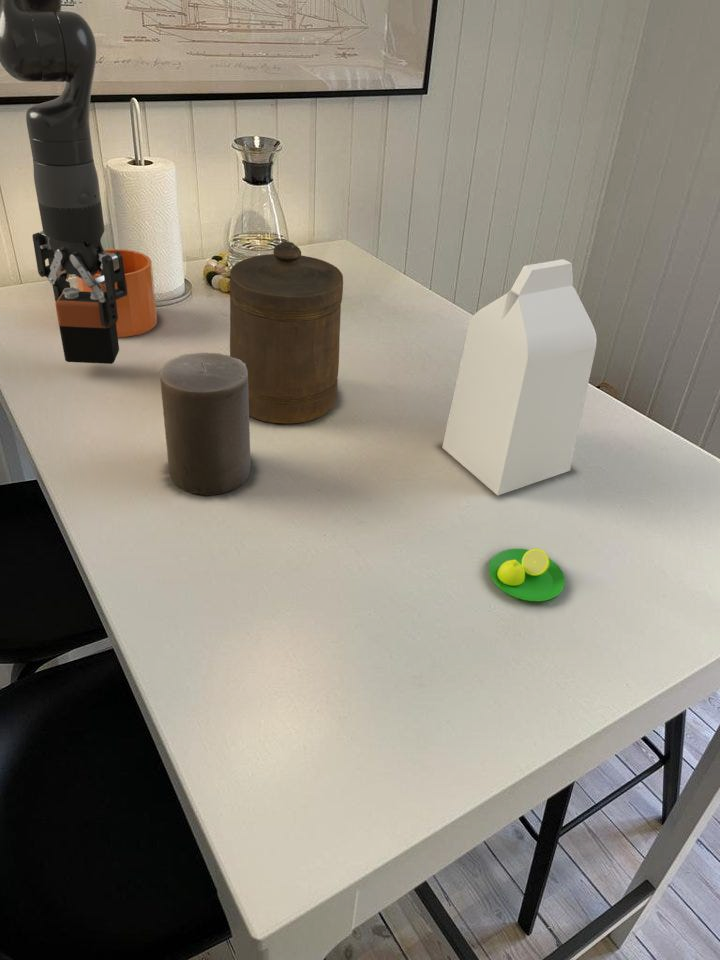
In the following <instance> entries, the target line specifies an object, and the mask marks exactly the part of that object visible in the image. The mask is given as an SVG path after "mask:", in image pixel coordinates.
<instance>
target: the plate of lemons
mask: <svg viewBox="0 0 720 960" xmlns="http://www.w3.org/2000/svg"><path fill="white" fill-rule="evenodd" d="M488 572H489V576H490V578H491V580H492V582H493V583H494V584H495V585H496V587H498V588H499V589H500V590H501V591H502V592H504V593H506V594H507V595H510V596H512V597H513V598H516V599H520V600H523V601H529V602H543V601H548V600H551V599H554V598H556V597H558V596H559V595H560V594H561V593H562V592H563V590H564V588H565V583H566V579H565V578H566V577H565V574H564V572H563V570H562V569H561V567H560V566H559V565H558V564H557V563H556V562H555V561H554V560H553V559H551V558H550V557H549V556H548V554H547V553H546V552H545V551H544V550H542V549H540V548H531V549H527V548H510V549H509V548H508V549H505V550H502V551H500V552H498V553H496V554H495V555H494V556H493V557H492V558H491V559H490V562H489V564H488Z"/></svg>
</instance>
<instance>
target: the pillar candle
mask: <svg viewBox="0 0 720 960" xmlns="http://www.w3.org/2000/svg"><path fill="white" fill-rule="evenodd" d="M159 379H160V388H161V389H160V390H161V400H162V401H161V402H162V409H163V413H162V414H163V421H164V422H163V423H164V432H165V443H166V444H165V445H166V454H167V455H166V457H167V465H168V473H169V477H170V479H171V481H172V483H173V484H174V485H175V486H176V487H177V488H178V489H180V490H182V491H185V492H187V493H191V494H196V495H200V496H216V495H220V494H224V493H225V494H226V493H228V492H231V491H233V490H236V489H237V488H240V487H241V486H242V485H244V484H245V483H246V482H247V481H248V479H249V477H250V475H251V468H252V467H251V443H250V442H251V436H250V416H249V396H248V370H247V368H246V364H245V363H243V362H242V361H241V360H239V359H236V358H233V357H230V355H228V354H222V353H216V352H195V353H183V354H181V355H178V357H175V358H172V359H170V360H169V361H167V362H166V363H164V364H163V366H162V367H161V369H160V370H159Z"/></svg>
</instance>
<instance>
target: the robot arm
mask: <svg viewBox="0 0 720 960" xmlns="http://www.w3.org/2000/svg"><path fill="white" fill-rule="evenodd" d="M62 4H63V3H62V0H0V64H1V66H2V68H3V69H4V70H5V71H6V73H7V74H8V75H10V76H11V77H12V78H14V79H15V80H17V81H19V82H24V83H64V82H65V85H64V89H63V91H62V92H61V94H60V95H59V96H58V97H56V98H54V99H52V100H51V99H50V100H48V101H45V102H41V103H36V104H34V105H32V106H30V107H29V108H28V109H27V111H26V113H25V120H26V129H27V133H28V140H29V146H30V151H31V156H32V157H31V158H32V164H33V165H32V166H33V182H34V188H35V192H36V193H35V194H36V199H37V204H38V210H39V216H40V223H41V227H42V230H41V231H37V232H35V233H33V234H32V242H33V248H34V256H35V262H36V268H37V273H38V275H39V277H41V278H47V281H48V282H49V284H50V285H52V291H53V297H54V302H55V303H56V301H57V300H58V298H59V297H60V295H61V294H62V292H63V290H64V289H65V288H71V282H70V281H68V279H69V277H70V276H71V275H74V276H75V277H76V276H78V277H79V278H82V279H83V280H84V281H85V283H86V285H87V286H88V287H89V288H92V289H93V291H94V292H95V294H96V296H97V298H98V299H99V301H98V305H99V312H100V319H101V325H102V326H104V327H110V326H112V325H114V324H116V322H117V320H118V314H117V306H116V300H118V299H120V298H122V297H125V296H127V287H126V279H125V272H124V265H123V258H122V255H121V253H120V252H115V253H112V254H111V253H107V252H104V250H105V249H104V248H103V245H102V242H101V241H102V237H103V235H104V233H105V221H104V214H103V206H102V197H101V189H100V183H99V182H100V181H99V176H98V172H97V169H96V163H95V159H94V151H93V143H92V136H91V128H90V127H91V126H90V111H91V110H90V108H91V96H92V88H93V82H94V76H95V70H96V61H97V44H96V39H95V34H94V33H93V30H92V28H91V27H90V25H89V23H88V22H87V21H86V19H85V18H84V17H83V16H81V14H78V13H77V12H74V11H65V10H62ZM46 260H47V262H48V265H47V264H46ZM98 271H99V272H100V274H101V276H100V277H97V278H93V277H92V276H93V275H95V274H96V273H97V272H98ZM116 282H117V287H118V289H115V283H116ZM101 283H102V284H103V285H104V286H105V288H106V291H105V292H104V291H103V289H102V288H101V286H100V284H101Z"/></svg>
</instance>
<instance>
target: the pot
mask: <svg viewBox="0 0 720 960" xmlns="http://www.w3.org/2000/svg"><path fill="white" fill-rule="evenodd" d="M104 252H107V253H111V254H112V253H115V252H120V253H121V255H122V258H123V265H124V272H125V279H126V287H127V296H125V297H122V298H120V299H118V300H116V306H117V314H118V320H117V322H116V327H117V335H118V338H127V337H134V336H139V335H141V334H145V333H146V332H149V331H151V330H153V328H155V326H156V325H157V323H158V313H157V302H156V293H155V283H154V271H153V262H152V260H151V258H150V256H148V255H147V254H144V253H143V252H140V251H136V250H132V249H131V250H130V249H119V248H111V249H104ZM100 276H101V274H100V272H99V271H98V272H97V273H96V274H95V275H93V276H92V277H93V278H97V277H100ZM75 279H76V285H77V289H79V291H84V292H92V291H93V289H92V288H89V287H88V286H87V285H86V283H85V281H84V280H83V279H82V278H79V277H78V276H76V275H75ZM100 286H101V288H102V289H103V291H104V292H105V291H106V288H105V286H104V285H103V284H102V283H101V284H100ZM115 289H118V287H117V282H116V283H115Z"/></svg>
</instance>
